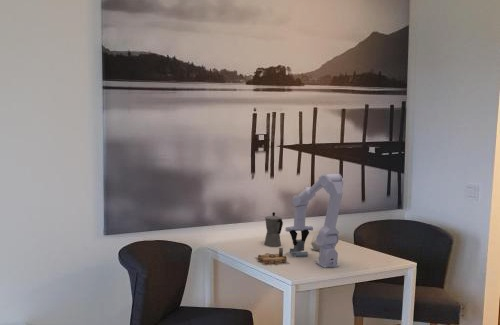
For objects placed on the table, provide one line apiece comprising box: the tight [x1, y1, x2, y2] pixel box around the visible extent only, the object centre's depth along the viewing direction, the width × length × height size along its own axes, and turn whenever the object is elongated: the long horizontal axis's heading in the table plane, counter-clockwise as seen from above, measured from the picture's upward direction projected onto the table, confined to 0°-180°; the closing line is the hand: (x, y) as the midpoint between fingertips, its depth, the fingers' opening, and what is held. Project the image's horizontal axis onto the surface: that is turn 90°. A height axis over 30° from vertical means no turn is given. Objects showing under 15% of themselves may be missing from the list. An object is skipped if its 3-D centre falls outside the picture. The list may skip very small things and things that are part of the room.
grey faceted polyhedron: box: [310, 234, 320, 252], centre depth 303 cm, size 8×9×10 cm
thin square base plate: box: [254, 256, 290, 266], centre depth 278 cm, size 14×13×1 cm
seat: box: [289, 247, 309, 258], centre depth 292 cm, size 9×6×2 cm, turn 19°
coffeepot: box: [264, 212, 284, 248], centre depth 310 cm, size 15×9×18 cm, turn 29°
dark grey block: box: [293, 238, 305, 252], centre depth 291 cm, size 4×4×5 cm
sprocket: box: [257, 247, 288, 264], centre depth 278 cm, size 14×14×6 cm
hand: (298, 244), depth 291 cm, fingers closed on dark grey block, 4 cm apart
